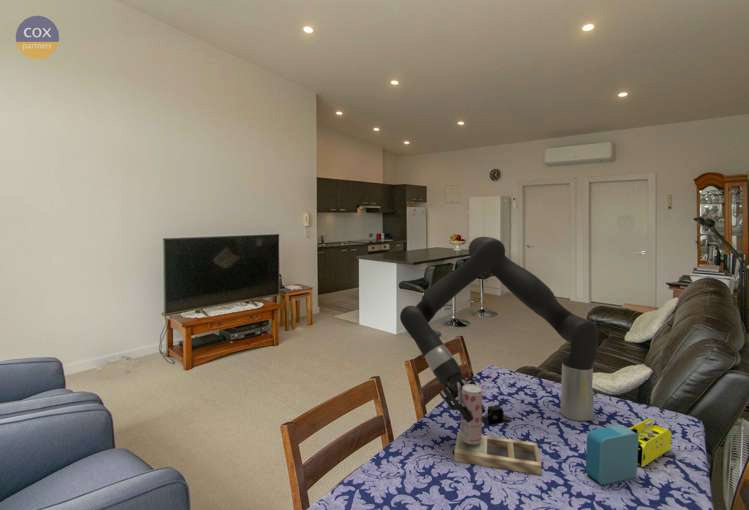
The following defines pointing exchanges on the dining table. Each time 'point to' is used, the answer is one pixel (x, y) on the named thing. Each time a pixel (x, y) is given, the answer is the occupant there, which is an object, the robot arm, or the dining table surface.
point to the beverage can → (473, 402)
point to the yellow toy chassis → (651, 441)
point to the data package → (612, 454)
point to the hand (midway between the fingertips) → (477, 416)
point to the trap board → (500, 454)
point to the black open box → (495, 416)
